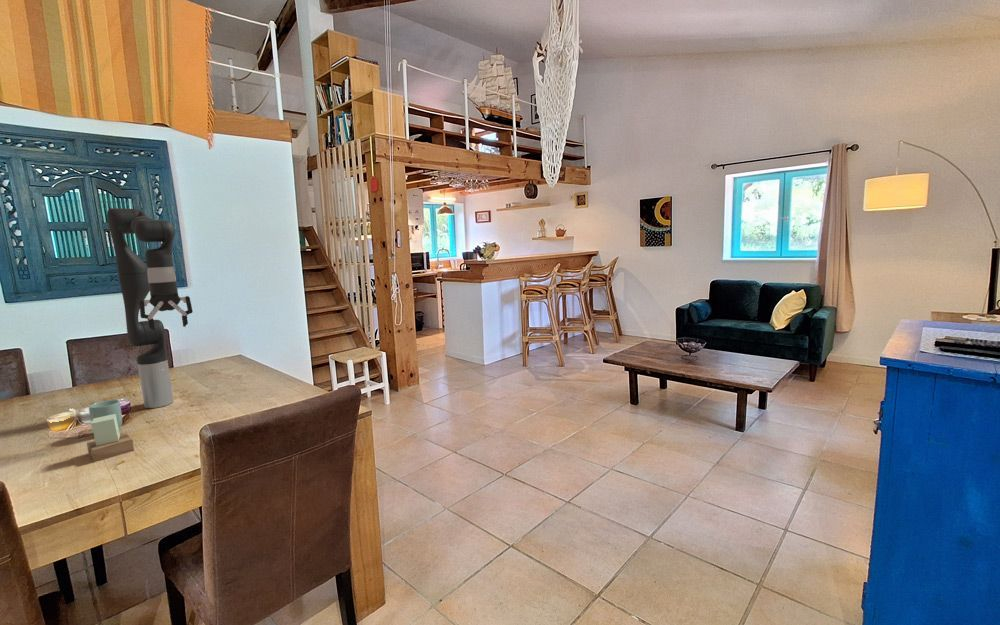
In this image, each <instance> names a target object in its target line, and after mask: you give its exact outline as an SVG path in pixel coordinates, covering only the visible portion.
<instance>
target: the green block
mask: <svg viewBox="0 0 1000 625" xmlns="http://www.w3.org/2000/svg"><path fill="white" fill-rule="evenodd" d="M91 428H92V432H93V438H94V440H95V442H96V446H100V445H104V444H108V443H112V442H116V441H119V438H120V433H121V432H120V429H119V428H118V423H117V418H116V414H112V415H108V416H103V417H98V418H94V419H93V421H92V422H91Z"/></svg>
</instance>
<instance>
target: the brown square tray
mask: <svg viewBox="0 0 1000 625" xmlns="http://www.w3.org/2000/svg"><path fill="white" fill-rule="evenodd" d="M119 433H120V438H119V441H116V442H112V443H108V444H104V445H100V446H96V442H95V439H93V440H91V441H87V442H86V447H87V452H88V453H89V454H88V455H89V457H90V456H91V457H90V458H91V459H92V461H93V460H94V461H93V462H94V463H97V461H98V462H101V461H104V460H107V459H110V458H113V457H118V456H121V455H124V454H128V453H131V452H134V451H135V447H134V440H133V438H132V437H130V436H129V435H128V434H127V433H126V432H122V433H121V432H119Z"/></svg>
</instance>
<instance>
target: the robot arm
mask: <svg viewBox="0 0 1000 625" xmlns="http://www.w3.org/2000/svg"><path fill="white" fill-rule="evenodd" d="M106 218H107V224H108V228H109V233H110V236H111V241H112V244H113V250H114V253H115V260H116V268H117V274H118V280H119V285H120V290H121V294H122V299H123V305H124V312H125V322H126V333H127V338H128V339H127V340H128V341H129V344H130V345H131V346H132V347H144V346H150V345H152V347H151V348H149V349H148V350H147V351H145V352H144V353H141V354H139V355H137V357H136V362H137V368H138V369H137V371H138V376H139V381H140V387H141V394H142V401H143V406H144V408H145V409H154V408H160V407H161V408H162V407H165V406H169V405H171V404H173V403H174V395H173V388H172V382H171V375H170V374H171V373H170V367H169V360H168V355H167V353H168V352H167V345H166V344H167V343H166V331H165V327H164V323H163V322H162V321H161V320H159V319H154V317H155V315H156V314H157V313H158V311H159V312H166V311H174V310H176V311H177V312H179V313H180V314H181V320H182V326H183V327H184V328H186V327H187V325H188V324H189V321H188V315H190V314H192V313H194V312H193V306H192V302H191V298H190V296H188V295H185V296H181V297H180V295H179V291H178V285H177V277H176V271H175V269H174V263H173V255H172V254H173V252H172V251H173V244H174V239H175V233H176V230H175V227H174V225H173V223H171V222H170V221H169V220H164V219H163V220H157V219H153V218H150V217H149V216H148V215H147V214H146V212H144V211H143V210H142V209H138V208H121V207H120V208H116V207H113V208H112V207H110V208H109V209H108V210H107V214H106ZM126 234H127V235H132V234H133V235H135V236H136V238H137V239H138V241H140V242H144V243H159V242H160V243H161V245H160V246H159V247H157V248H153V249H152V248H151V249H148V250H146V252H145V261H146V263H145V262H144V261H143V259H141V257H139V256H138V255H137V253H135V252H134V251H133V250H132V248H131V247H130V246H129V245H128V243H127V240H126V238H125V237H124V235H126ZM148 294H150V299H147V297H148ZM181 301H182V302H183V303H184V304H186V309H187V310H184V309H182V307H180V306H179V303H180V302H181ZM148 304H150V305H152V307H153V308H152V309H151V311H150V312H149V314H146V311H145V310H146V307H147V306H148ZM139 313H140V315H139ZM139 316H140V318H141V319H145V320H143V321H139Z"/></svg>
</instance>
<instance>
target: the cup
mask: <svg viewBox="0 0 1000 625" xmlns="http://www.w3.org/2000/svg"><path fill="white" fill-rule="evenodd" d="M121 407H122V406H121V402H120V400H119V399H109V400H103V401H97V402H94V403H92V404H90V405H89V406H88V410H89V411H88V412H89V417H90V421H91V423H92V421H93V419H94V418H98V417H103V416H108V415H112V414H116V418H117V423H118V428H119V430H120V429H121V427H122V425H123V413H122V408H121Z"/></svg>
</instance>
